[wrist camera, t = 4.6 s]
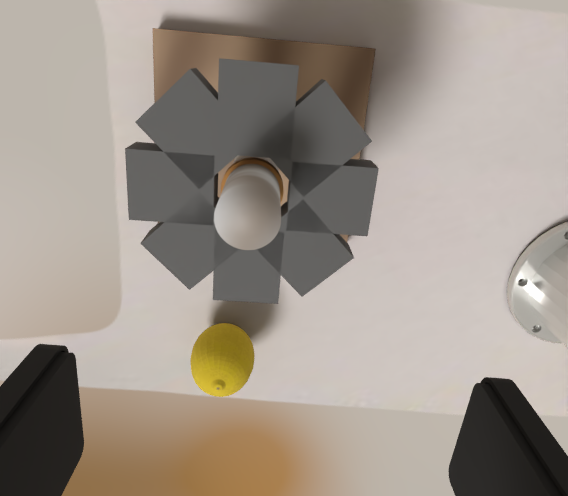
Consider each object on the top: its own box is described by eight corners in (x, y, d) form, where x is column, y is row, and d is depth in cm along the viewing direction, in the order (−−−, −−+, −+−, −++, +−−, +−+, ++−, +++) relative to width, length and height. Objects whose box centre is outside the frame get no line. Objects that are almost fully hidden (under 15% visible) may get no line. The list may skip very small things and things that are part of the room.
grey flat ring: (384, 72, 24) (394, 74, 22) (350, 292, 29) (355, 308, 27) (132, 50, 23) (120, 49, 21) (142, 279, 28) (132, 294, 26)
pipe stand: (371, 49, 34) (464, 39, 17) (343, 244, 40) (392, 374, 24) (157, 29, 33) (42, -1, 17) (162, 231, 39) (81, 357, 23)
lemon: (193, 350, 44) (178, 408, 37) (204, 302, 42) (189, 354, 35) (248, 361, 45) (244, 420, 38) (261, 314, 43) (259, 367, 35)
